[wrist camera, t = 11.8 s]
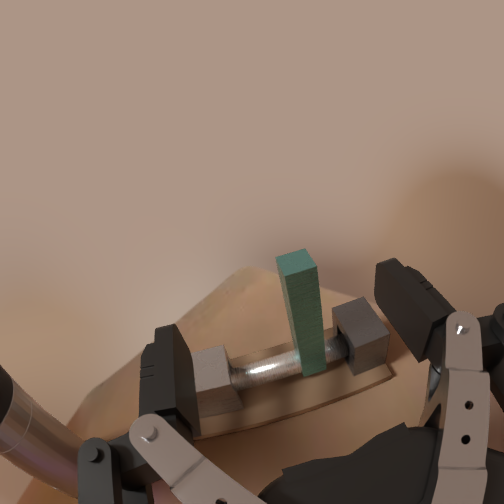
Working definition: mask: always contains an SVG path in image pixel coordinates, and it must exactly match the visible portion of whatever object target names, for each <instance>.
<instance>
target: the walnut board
mask: <svg viewBox="0 0 504 504" xmlns="http://www.w3.org/2000/svg"><path fill="white" fill-rule="evenodd" d="M330 337H333V327H332V328H329V329H327V330H324V339H327V338H330ZM292 350H294V345H293V341H291V342H288V343H285V344H281V345H278V346H275V347H272V348H268V349H265V350H262V351H258V352H255V353H251V354H248V355H244V356H241V357H237V358H234V359H230V360H231V362H232V365H233V367H238V366H241V365H245V364H249V363H252V362H256V361H259V360H262V359H266V358H269V357H272V356H276V355H279V354H282V353H285V352H289V351H292ZM391 377H392V374H391V372H390V370H389V369H388V367H387V366H386V364H382V365H380V366H378V367H376V368H373V369H371V370H369V371H366V372H364V373H361V374H359V375H356V376H353V374H352V373H351V371H350V369H349V367H348V365H347V363H346V361H345V359H344V357H343V358H341V359H338V360H335V361H333V362H330V363H327V364H326V370H323V371H320V372H317V373H314V374H311V375H309V376H306V377H303V374H302V372H301V373H298V374H295V375H292V376H289V377H285V378H282V379H279V380H276V381H272V382H269V383H265V384H262V385H258V386H255V387H251V388H248V389H244V390H240V391H237V393H238V395H239V397H240V399H241V401H242V403H243V408H244V409H241V410H237V411H232V412H228V413H224V414H220V415H215V416H210V417H206V418H201V419H199V420H200V428H201V435H202V436H198V437H193V440H198V439H204V438H209V437H214V436H219V435H224V434H229V433H233V432H238V431H242V430H246V429H250V428H254V427H258V426H262V425H265V424H269V423H273V422H276V421H280V420H283V419H286V418H290V417H293V416H296V415H299V414H302V413H306V412H309V411H312V410H314V409H317V408H320V407H323V406H326V405H329V404H331V403H334V402H337V401H339V400H342V399H345V398H347V397H350V396H352V395H355V394H357V393H360V392H362V391H364V390H367V389H369V388H372V387H374V386H376V385H378V384H381V383H383V382H385V381H387V380H389V379H391Z"/></svg>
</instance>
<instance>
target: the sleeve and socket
mask: <svg viewBox="0 0 504 504" xmlns="http://www.w3.org/2000/svg"><path fill="white" fill-rule="evenodd" d="M332 318H333V336H336V335H338V334H341V333H342V334H343V336H344V338H345V339H346V341H347V343H348V345H349V346H350V353H349V356H346V357H344V359H345V361H346V363H347V365H348V367H349V369H350V371H351V373H352V374H353V376H356V375H359V374H361V373H364V372H366V371H369V370H371V369H373V368H376V367H378V366H380V365H382V364H385V361H386V356H387V350H388V344H389V337H390V332H389V331H388V330H387V328H386V327H385V325H384V324H383V323H382V321H381V320H380V318H379V317H378V316H377V314H376V313H375V311H374V310H373V309H372V307H371V306H370V304H369V303H368V302H367V300H366V299H365V298H364V297H361V298H358V299H356V300H353V301H350V302H347V303H345V304H342V305H339V306H336V307H333V308H332ZM191 356H192V360H193V367H194V377H195V386H196V395H197V404H198V412H199V419H201V418H206V417H210V416H215V415H220V414H224V413H228V412H232V411H237V410H241V409H244V408H243V403H242V401H241V399H240V397H239V395H238V393H237V391H236V389H235V387H234V386H233V384H232V382H231V376H230V371H229V369H230V368H234V367H233V365H232V362H231V360H230V358H229V356H228V354H227V352H226V349H225V347H224V345H221V346H217V347H213V348H209V349H206V350H202V351H198V352H194V353H191Z"/></svg>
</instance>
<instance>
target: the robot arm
mask: <svg viewBox="0 0 504 504" xmlns="http://www.w3.org/2000/svg"><path fill="white" fill-rule="evenodd" d="M374 296H375V300H376V303H377V305H378V306H379V308H380V309H381V310H382V312H383V313H384V315H385V316H386V317H387V319H388V320H389V321H390V323H391V324H392V325H393V327H394V328H395V330H396V331H397V332H398V334H399V335H400V337H401V338H402V339H403V341H404V342H405V344H406V345H407V347H408V348H409V349H410V351H411V352H412V354H413V355H414V357H415V358H416V360H417V361H418V363H420V362H422V361H424V360H426V359H427V358H428V359H429V361H430V362H431V363H430V366H429V375H428V384H427V392H426V399H425V406H424V410H423V413H422V415H421V418H420V422H419V426H418V427H410V428H407V427H406V425H405V423H404V422H403V423H401V424H399V425H397V426H395V427H393V428H391V429H389V430H387V431H385V432H383V433H381V434H378V435H376V436H375V437H374V438H372V439H371V440H370V441H368V442H367V443H366V444H364V445H363V446H362V447H360V448H359V449H357V450H356V451H355V452H353V453H352V454H350V455H347V456H341V457H333V458H325V459H315V460H311V461H308V462H305V463H302V464H298V465H295V466H292V467H288V468H285V469H282V471H283V475H282V476H281V477H279V478H277V479H276V480H274V481H273V482H271V483H270V484H269V485H268V486H266V487H265V488H264V489H263V490H262V492H261V493H260V494H259V495H258V497H257V496H255V495H254V494H252V493H251V492H249V491H248V490H247V489H245V488H244V487H243V486H241V485H240V484H239V483H237V482H236V481H235V480H233V479H232V478H231V477H229V476H228V475H227V474H225V473H224V472H223V471H222V470H220V469H219V468H218V467H217V466H216V465H214V464H213V463H212V462H211V461H209V460H208V459H207V458H206V457H205V456H203V455H202V454H201V453H200V452H199V451H198V450H196V449H195V448H194V442H193V437H198V436H202V435H201V428H200V420H199V412H198V404H197V395H196V386H195V377H194V367H193V360H192V356H191V353H190V350H189V348H188V346H187V344H186V343H185V341H184V339H183V337H182V335H181V333H180V331H179V330H178V328H177V326H176V325H175V324H171V325H167V326H163V327H159V328H156V329H155V341H154V343H151V344H147V345H146V347H145V349H144V351H143V353H142V355H141V367H140V368H141V370H140V378H141V380H140V391H139V417H138V419H136V420H135V421H134V422H133V424H132V425H131V427H130V431H129V432H128V433H126V434H125V435H123V436H120V437H118V438H116V439H114V440H111V441H109V442H106V441H104V440H103V439H100V438H90V439H88V440H86V441H84V440H82V439H81V438H80V437H78V436H77V435H76V434H74V433H73V432H72V431H71V430H69V429H68V428H67V427H66V426H64V425H63V424H62V423H61V422H59V421H58V420H57V419H56V418H54V417H53V416H52V415H51V414H50V413H49V412H47V411H46V410H45V409H44V408H43V407H42V406H41V405H40V404H39V403H37V402H36V401H35V400H34V399H33V398H32V397H31V396H30V395H29V394H28V393H26V391H25V390H24V389H22V388H21V387H20V386H19V385H18V384H17V383H16V382H15V381H14V379H13V378H12V377H11V376H10V375H9V374H8V373H7V372H6V371H5V370H4V369H3V368H2V366H1V365H0V456H1V457H3V458H4V459H6V460H7V461H8V462H10V463H12V464H13V465H15V466H16V467H18V468H19V469H21V470H23V471H24V472H26V473H28V474H29V475H31V476H33V477H34V478H36V479H38V480H40V481H41V482H43V483H45V484H47V485H49V486H51V487H52V488H54V489H56V490H58V491H60V492H62V493H64V494H67V495H69V496H71V497H74V498H78V504H154V499H153V492H152V486H151V483H153V482H155V481H158V480H160V479H163V480H164V481H165V482H166V483H167V484H168V485H169V486H170V490H171V492H172V493H173V494H174V495H175V496H176V497H177V498H178V499H179V500H180V501H181V502H182V503H183V504H504V453H503V452H499V451H496V450H493V449H490V448H487V443H488V431H489V414H490V390H491V392H492V393H493V395H494V397H495V398H496V400H497V402H498V403H499V405H500V407H501V408H502V410H503V412H504V303H502V304H499V305H498V306H497V307H496V308H495V311H494V313H493V315H490V316H485V317H480V318H475V316H473V315H472V314H470V313H468V312H465V311H456V310H455V309H454V308H453V307H452V306H451V305H450V304H449V302H448V301H447V300H446V299H445V298H444V297H443V296H442V295H441V294H440V293H439V292H438V291H437V290H436V289H435V288H433V285H432V284H431V283H430V282H429V281H427V279H426V278H425V277H424V276H423V275H422V274H421V273H420V272H419V271H417V270H415V269H413V268H411V267H409V266H407V267H404V266H403V265H402V264H401V263H400V262H399V261H398V260H397V259H396V258H392V259H389V260H386V261H383V262H380V263H378V264H377V265H376V273H375V287H374Z"/></svg>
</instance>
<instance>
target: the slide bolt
mask: <svg viewBox="0 0 504 504" xmlns="http://www.w3.org/2000/svg"><path fill="white" fill-rule="evenodd" d="M276 263H277V268H278V272H279V277H280V282H281V286H282V291H283V296H284V301H285V306H286V310H287V315H288V320H289V325H290V330H291V335H292V340H293V345H294V350H292V351H289V352H285V353H282V354H279V355H276V356H272V357H269V358H266V359H262V360H259V361H256V362H252V363H249V364H245V365H241V366H238V367H234V368H230V369H229V371H230V376H231V382H232V384H233V386H234V387H235V389H236V391H240V390H244V389H248V388H251V387H255V386H258V385H262V384H265V383H269V382H272V381H276V380H279V379H282V378H285V377H289V376H292V375H295V374H298V373H301V372H302V374H303V377H306V376H309V375H311V374H314V373H317V372H320V371H323V370H326V364H327V363H330V362H333V361H335V360H338V359H341V358H343V357H346V356H349V353H350V346H349V345H348V343H347V341H346V339H345V338H344V336H343V334H342V333H341V334H338V335H336V336H333V337H330V338H327V339H324V330H323V319H322V309H321V299H320V289H319V281H318V272H317V266H316V264H315V263H314V261H313V260H312V258H311V257H310V255H309V254H308V252H307V251H306V249H302V250H299V251H295V252H292V253H289V254H285V255H282V256H278V257H276Z"/></svg>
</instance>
